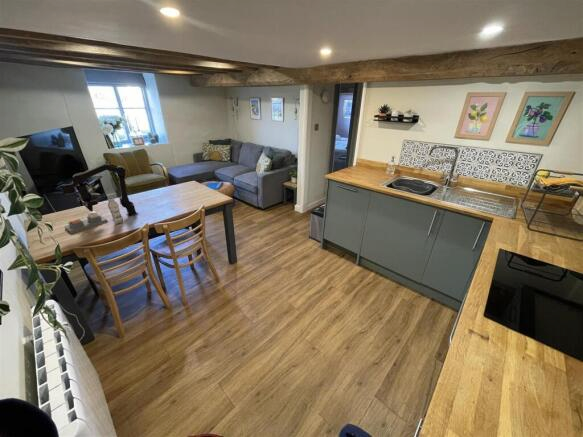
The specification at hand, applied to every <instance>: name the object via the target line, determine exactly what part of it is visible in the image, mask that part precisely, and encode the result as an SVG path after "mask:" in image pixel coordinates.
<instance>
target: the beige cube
mask: <svg viewBox="0 0 583 437" xmlns="http://www.w3.org/2000/svg"><path fill="white" fill-rule="evenodd" d="M98 215H99V214H98V212H97V211H95V210H93V211H92V212H91V211H89V212H87V217H88V216H89V217H90V218H94V217H98Z"/></svg>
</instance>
